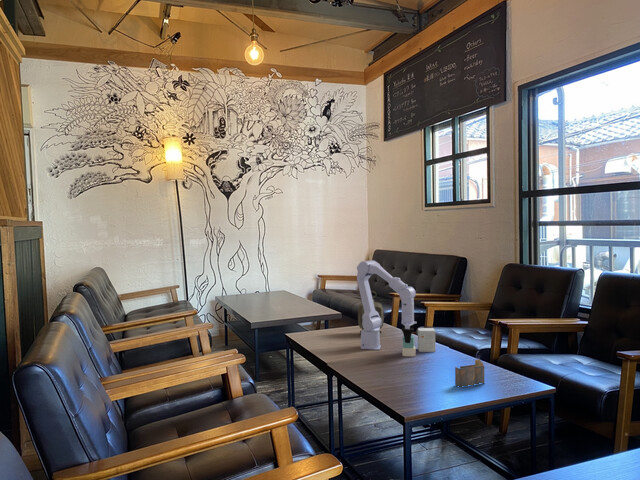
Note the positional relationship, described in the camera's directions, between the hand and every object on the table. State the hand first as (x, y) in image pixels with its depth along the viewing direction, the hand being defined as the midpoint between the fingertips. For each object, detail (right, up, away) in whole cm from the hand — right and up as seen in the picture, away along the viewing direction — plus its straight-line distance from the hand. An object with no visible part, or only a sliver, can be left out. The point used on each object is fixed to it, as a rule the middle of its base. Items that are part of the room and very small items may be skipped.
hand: (407, 340), depth 217 cm
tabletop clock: (-13, -6, +40) cm, 43 cm away
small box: (+10, -7, +7) cm, 14 cm away
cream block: (+1, -7, +1) cm, 7 cm away
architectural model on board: (+16, -8, -41) cm, 45 cm away
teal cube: (0, -3, 0) cm, 3 cm away
